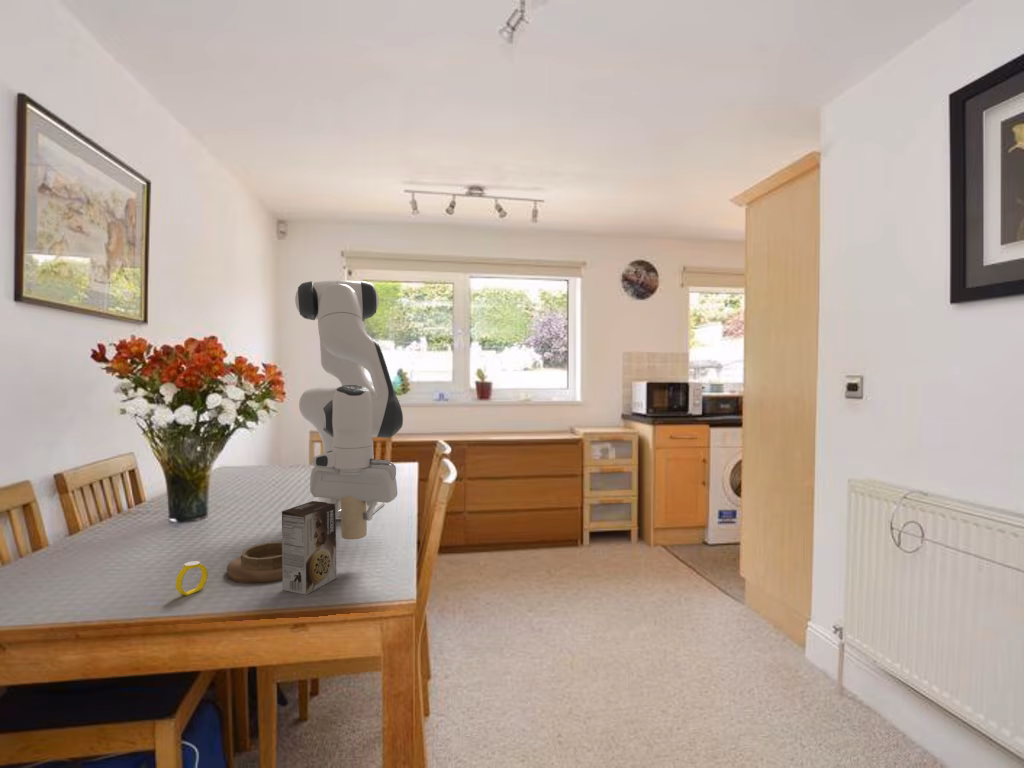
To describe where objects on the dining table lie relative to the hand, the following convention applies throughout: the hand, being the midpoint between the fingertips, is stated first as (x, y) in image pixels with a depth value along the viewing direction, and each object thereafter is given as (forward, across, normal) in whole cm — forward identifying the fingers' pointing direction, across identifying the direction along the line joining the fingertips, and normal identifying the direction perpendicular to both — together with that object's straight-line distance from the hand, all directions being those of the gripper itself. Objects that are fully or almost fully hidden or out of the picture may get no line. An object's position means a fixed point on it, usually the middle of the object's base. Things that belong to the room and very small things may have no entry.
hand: (353, 518), depth 121 cm
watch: (+10, +23, +22) cm, 33 cm away
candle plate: (+10, +17, +7) cm, 21 cm away
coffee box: (+10, +3, +13) cm, 17 cm away
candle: (+4, 0, 0) cm, 4 cm away
